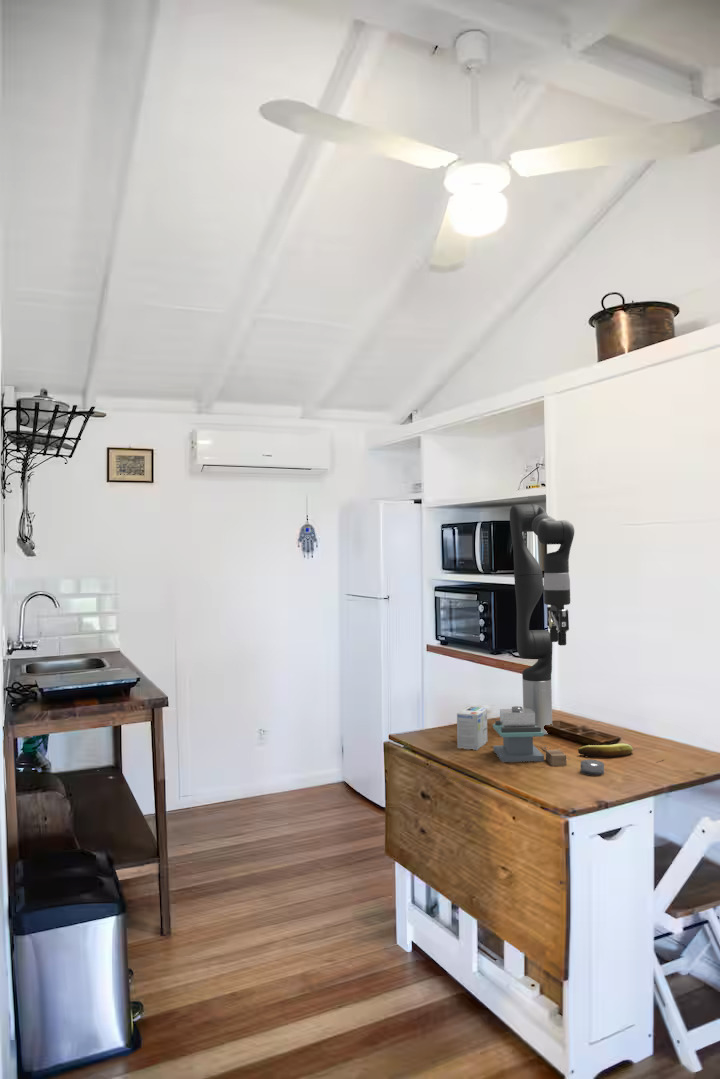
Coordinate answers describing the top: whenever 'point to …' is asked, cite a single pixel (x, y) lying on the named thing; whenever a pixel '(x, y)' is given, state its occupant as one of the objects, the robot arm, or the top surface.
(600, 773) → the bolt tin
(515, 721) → the block
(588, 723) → the top surface
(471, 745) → the light bulb box
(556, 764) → the wood offcut
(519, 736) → the stand
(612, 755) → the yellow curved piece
